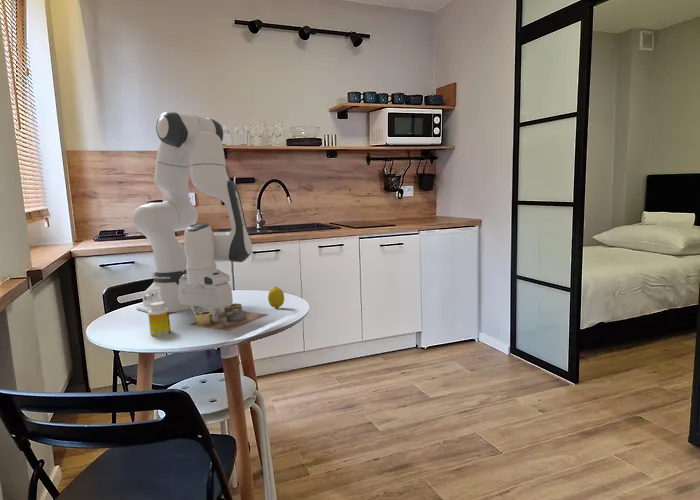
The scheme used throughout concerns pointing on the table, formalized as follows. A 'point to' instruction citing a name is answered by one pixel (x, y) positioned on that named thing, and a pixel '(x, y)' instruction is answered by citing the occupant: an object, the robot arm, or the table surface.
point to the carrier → (232, 318)
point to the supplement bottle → (159, 319)
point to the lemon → (276, 297)
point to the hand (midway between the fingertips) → (206, 319)
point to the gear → (204, 318)
